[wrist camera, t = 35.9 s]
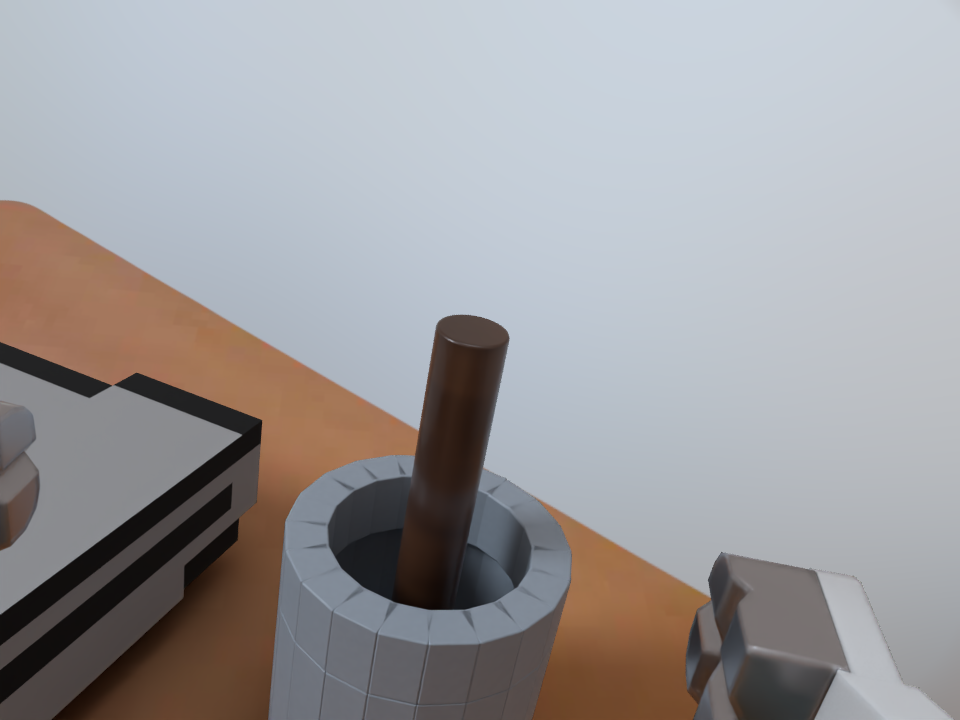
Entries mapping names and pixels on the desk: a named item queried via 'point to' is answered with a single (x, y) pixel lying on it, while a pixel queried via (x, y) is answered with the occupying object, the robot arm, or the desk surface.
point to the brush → (449, 459)
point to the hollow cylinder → (410, 630)
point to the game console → (111, 521)
